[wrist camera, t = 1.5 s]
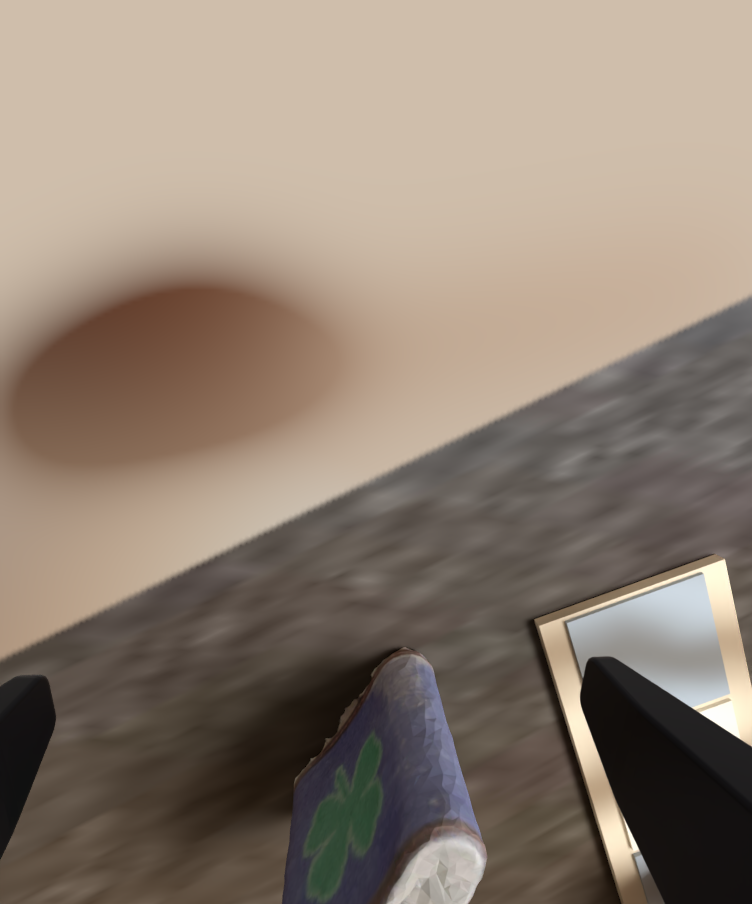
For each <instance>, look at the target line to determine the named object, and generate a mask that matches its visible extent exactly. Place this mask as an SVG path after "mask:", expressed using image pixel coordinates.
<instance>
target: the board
mask: <svg viewBox="0 0 752 904" xmlns="http://www.w3.org/2000/svg"><path fill="white" fill-rule="evenodd" d="M534 621H535V624H536V627H537V631H538V634H539V637H540V640H541V644H542V647H543V650H544V653H545V657H546V660H547V663H548V667H549V670H550V673H551V676H552V680H553V683H554V686H555V689H556V693H557V696H558V699H559V702H560V706H561V709H562V712H563V715H564V719H565V722H566V725H567V728H568V732H569V735H570V738H571V741H572V745H573V748H574V751H575V754H576V758H577V761H578V764H579V767H580V771H581V774H582V777H583V780H584V784H585V787H586V790H587V793H588V797H589V800H590V803H591V806H592V810H593V813H594V816H595V819H596V823H597V826H598V829H599V832H600V836H601V839H602V842H603V846H604V849H605V852H606V855H607V859H608V862H609V865H610V868H611V872H612V875H613V878H614V881H615V885H616V888H617V891H618V894H619V898H620V901H621V904H665V903H664V901H663V899H662V897H661V895H660V893H659V891H658V888H657V886H656V884H655V882H654V880H653V878H652V876H651V874H650V872H649V870H648V867H647V865H646V863H645V861H644V859H643V857H642V855H641V853H640V851H639V849H638V847H637V844H636V842H635V840H634V838H633V836H632V834H631V832H630V830H629V828H628V826H627V823H626V821H625V819H624V817H623V815H622V813H621V811H620V808H619V806H618V804H617V802H616V800H615V797H614V795H613V792H612V790H611V787H610V784H609V782H608V779H607V776H606V774H605V771H604V768H603V765H602V763H601V760H600V757H599V755H598V752H597V749H596V746H595V744H594V741H593V738H592V735H591V733H590V730H589V727H588V725H587V722H586V719H585V716H584V714H583V711H582V708H581V704H580V691H581V686H582V681H583V676H584V671H585V666H586V663H587V661H588V659H589V658H591V657H602V656H610V657H614V658H616V659H618V660H619V661H621V662H622V663H624V664H625V665H627V666H628V667H630V668H631V669H633V670H634V671H636V672H638V673H639V674H641V675H642V676H644V677H645V678H647V679H648V680H650V681H651V682H653V683H654V684H656V685H658V686H659V687H661V688H662V689H664V690H665V691H667V692H668V693H670V694H671V695H673V696H675V697H676V698H678V699H679V700H681V701H682V702H684V703H685V704H687V705H688V706H690V707H691V708H693V709H695V710H696V711H698V712H699V713H701V714H702V715H704V716H705V717H707V718H708V719H710V720H711V721H713V722H715V723H716V724H718V725H719V726H721V727H722V728H724V729H725V730H727V731H728V732H730V733H731V734H733V735H735V736H736V737H738V738H739V739H741V740H742V741H744V742H745V743H747V744H748V745H750V746H752V687H751V683H750V678H749V673H748V668H747V663H746V659H745V654H744V649H743V644H742V640H741V635H740V630H739V625H738V620H737V616H736V611H735V606H734V601H733V597H732V592H731V587H730V582H729V578H728V573H727V568H726V563H725V559H723V558H722V557H720V556H718V555H716V554H714V555H711V556H709V557H706V558H703V559H700V560H697V561H695V562H692V563H689V564H686V565H684V566H681V567H678V568H675V569H672V570H670V571H667V572H664V573H661V574H659V575H656V576H653V577H650V578H647V579H645V580H642V581H639V582H636V583H634V584H631V585H628V586H625V587H622V588H620V589H617V590H614V591H611V592H609V593H606V594H603V595H600V596H597V597H595V598H592V599H589V600H586V601H584V602H581V603H578V604H575V605H572V606H570V607H567V608H564V609H561V610H559V611H556V612H553V613H550V614H548V615H545V616H542V617H539V618H536V619H534Z"/></svg>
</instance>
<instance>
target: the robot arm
mask: <svg viewBox="0 0 752 904" xmlns="http://www.w3.org/2000/svg"><path fill="white" fill-rule="evenodd" d="M580 704H581V708H582V711H583V714H584V716H585V719H586V722H587V725H588V727H589V730H590V733H591V735H592V738H593V741H594V744H595V746H596V749H597V752H598V755H599V757H600V760H601V763H602V765H603V768H604V771H605V774H606V776H607V779H608V782H609V784H610V787H611V790H612V792H613V795H614V797H615V800H616V802H617V804H618V806H619V808H620V811H621V813H622V815H623V817H624V819H625V821H626V823H627V826H628V828H629V830H630V832H631V834H632V836H633V838H634V840H635V842H636V844H637V847H638V849H639V851H640V853H641V855H642V857H643V859H644V861H645V863H646V865H647V867H648V870H649V872H650V874H651V876H652V878H653V880H654V882H655V884H656V886H657V888H658V891H659V893H660V895H661V897H662V899H663V901H664V903H665V904H752V746H750V745H748V744H747V743H745V742H744V741H742V740H741V739H739V738H738V737H736V736H735V735H733V734H731V733H730V732H728V731H727V730H725V729H724V728H722V727H721V726H719V725H718V724H716V723H715V722H713V721H711V720H710V719H708V718H707V717H705V716H704V715H702V714H701V713H699V712H698V711H696V710H695V709H693V708H691V707H690V706H688V705H687V704H685V703H684V702H682V701H681V700H679V699H678V698H676V697H675V696H673V695H671V694H670V693H668V692H667V691H665V690H664V689H662V688H661V687H659V686H658V685H656V684H654V683H653V682H651V681H650V680H648V679H647V678H645V677H644V676H642V675H641V674H639V673H638V672H636V671H634V670H633V669H631V668H630V667H628V666H627V665H625V664H624V663H622V662H621V661H619V660H618V659H616V658H614V657H610V656H602V657H591V658H589V659H588V661H587V663H586V666H585V671H584V676H583V681H582V686H581V691H580ZM55 722H56V713H55V708H54V704H53V699H52V694H51V690H50V685H49V681H48V679H47V678H46V677H45V676H43V675H21V676H17V677H14V678H13V679H11V680H9V681H8V682H6V683H5V684H3V685H2V686H0V859H1V857H2V855H3V853H4V851H5V849H6V847H7V845H8V843H9V840H10V838H11V836H12V834H13V832H14V829H15V827H16V825H17V822H18V820H19V818H20V815H21V813H22V810H23V807H24V805H25V802H26V800H27V797H28V795H29V792H30V790H31V787H32V784H33V782H34V779H35V777H36V774H37V772H38V769H39V767H40V764H41V761H42V759H43V756H44V754H45V751H46V749H47V746H48V744H49V741H50V738H51V736H52V733H53V731H54V727H55Z"/></svg>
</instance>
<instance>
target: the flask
mask: <svg viewBox="0 0 752 904" xmlns="http://www.w3.org/2000/svg"><path fill="white" fill-rule="evenodd" d="M371 676H372V680H371V681H370V684H369V685H368V686H367V687H366V689H365V690H364V691H363V693H362V694H360V695H359V697H358V699H354V700H353V701H352V703H351V705H350V706H349V707H347V708H345V712H344V714H343V715H342V716H341V719H340V721H339V722H340V724H339V728H338V732H337V733H336V735H335V736H333V737H332V738H325V739H326V742H325V745H324V748H323V750H322V751H321V753H320V754H319V755H317V756H315V757H314V758H310V762H309V764H308V765H307V766H306V768H304V769H303V770H302V771H301V773H300V774H299V775H298V776H297V777H296V778H295V780H294V791H293V812H292V820H291V828H290V842H289V848H288V854H287V861H286V868H285V875H284V877H285V884H284V890H283V899H282V904H468V903H469V901H470V900H471V898H472V897H473V895H474V892H475V889H476V887H477V884H478V883H479V882H480V880H481V879H482V876H483V873H484V869H485V865H486V861H487V853H486V848H485V845H484V843H483V841H482V837H481V834H480V831H479V827H478V825H477V822H476V819H475V816H474V813H473V810H472V806H471V802H470V798H469V795H468V791H467V788H466V785H465V781H464V778H463V775H462V772H461V768H460V765H459V762H458V758H457V755H456V751H455V747H454V743H453V739H452V735H451V733H450V730H449V728H448V725H447V722H446V718H445V714H444V711H443V707H442V703H441V699H440V695H439V691H438V688H437V685H436V680H435V675H434V671H433V668H432V666H431V664H430V663H429V662H428V661H427V659H426V658H425V657H424V656H423V655H422V654H420V653H419V652H417V651H413V650H410V649H408V648H406V647H404V648H401V649H400V650H398V651H396V652H395V653H393V654H391V655H390V656H389V657H388V658H386V659H384V660H383V661H382V663H381V664H380V665H378V667H377V668H375V669H374V671H373V672H372V673H371Z"/></svg>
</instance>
